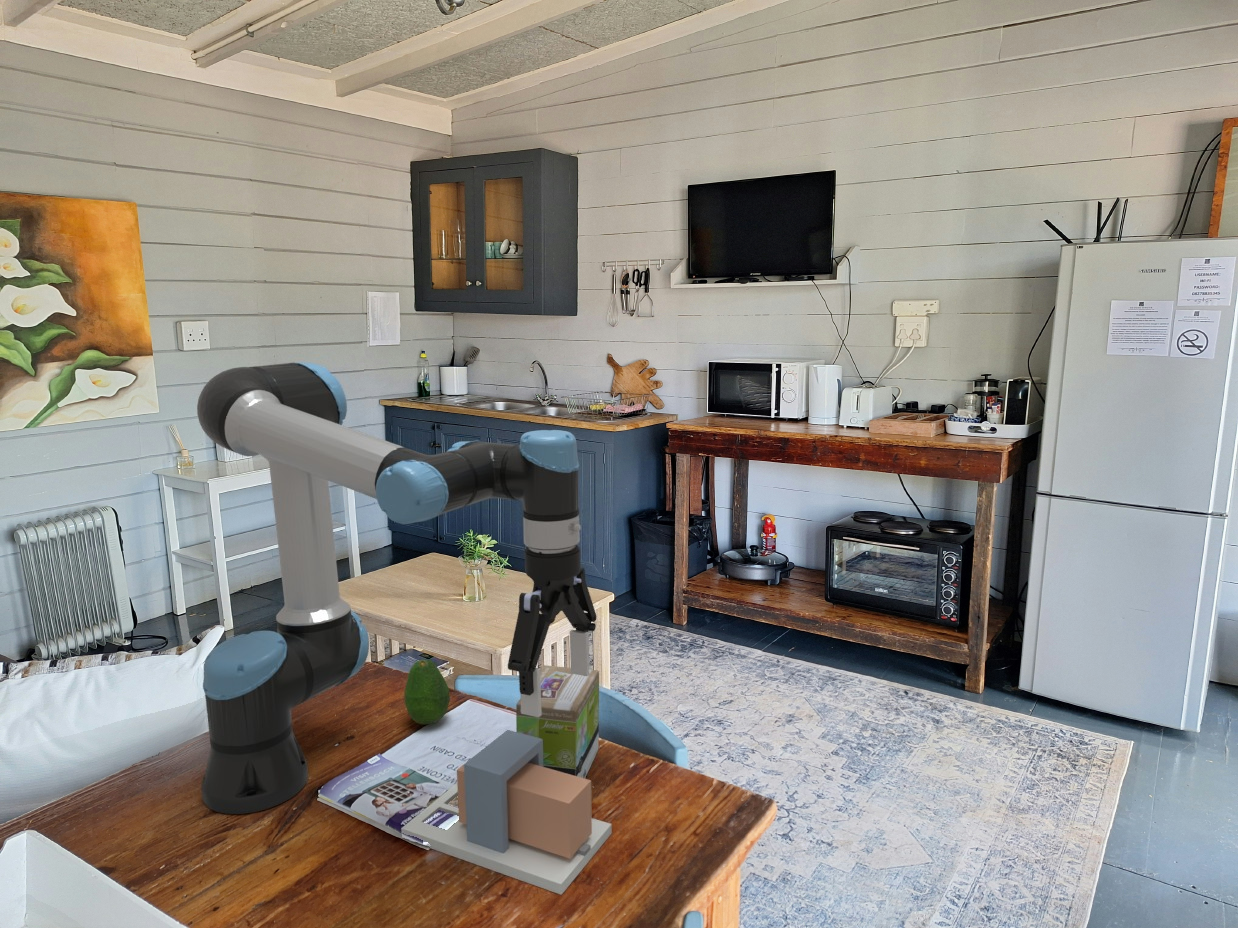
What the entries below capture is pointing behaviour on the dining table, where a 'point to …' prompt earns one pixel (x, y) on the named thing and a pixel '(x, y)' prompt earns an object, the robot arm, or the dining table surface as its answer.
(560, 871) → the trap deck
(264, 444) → the robot arm
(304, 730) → the dining table surface
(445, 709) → the avocado
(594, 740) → the tea box
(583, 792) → the terracotta clay brick
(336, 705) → the dining table surface
